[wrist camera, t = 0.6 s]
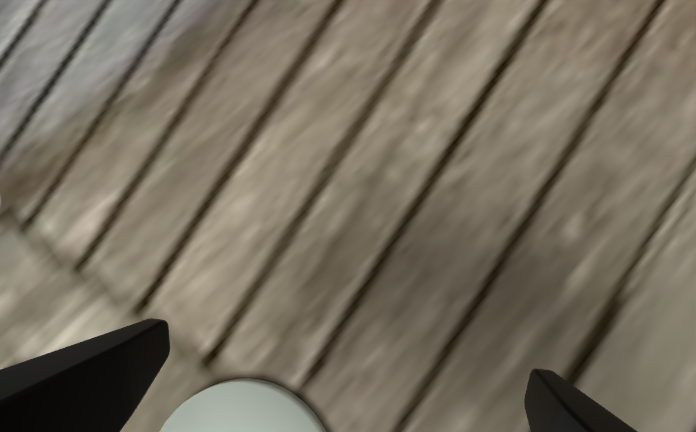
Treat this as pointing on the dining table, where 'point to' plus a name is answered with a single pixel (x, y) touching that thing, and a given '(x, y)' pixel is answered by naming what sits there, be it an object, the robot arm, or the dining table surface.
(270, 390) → the dish
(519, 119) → the dining table surface
